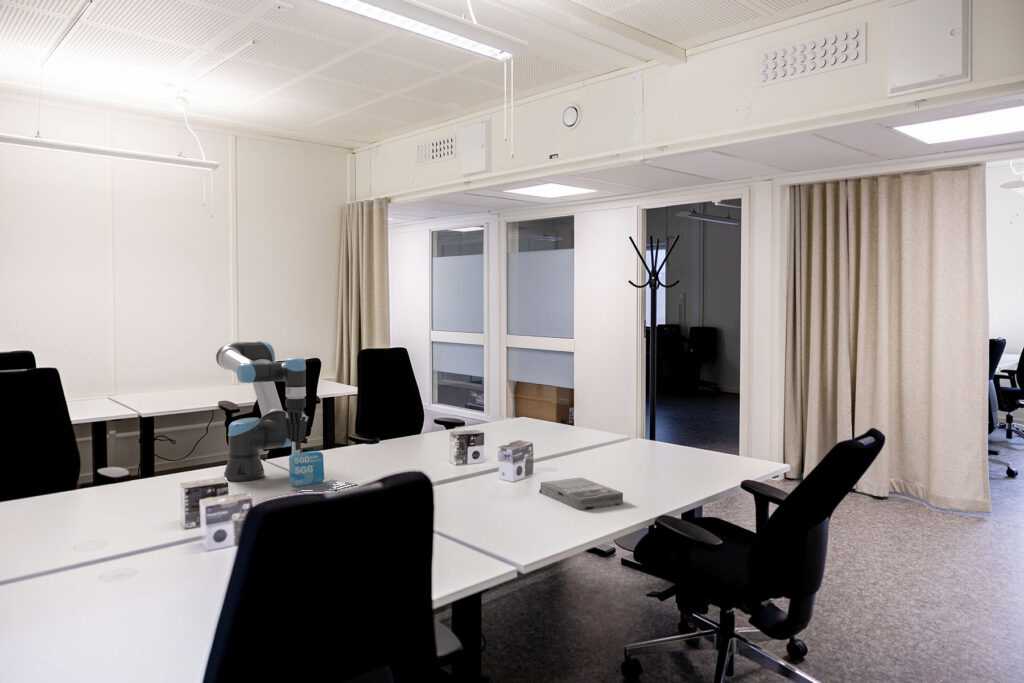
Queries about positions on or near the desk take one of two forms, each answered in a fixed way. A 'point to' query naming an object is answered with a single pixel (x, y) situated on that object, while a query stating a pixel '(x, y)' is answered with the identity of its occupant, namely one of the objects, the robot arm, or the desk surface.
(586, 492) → the grey flat block
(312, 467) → the data package
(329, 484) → the mat
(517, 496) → the desk surface
